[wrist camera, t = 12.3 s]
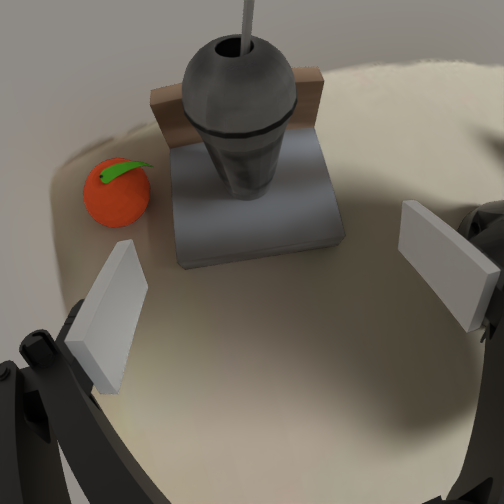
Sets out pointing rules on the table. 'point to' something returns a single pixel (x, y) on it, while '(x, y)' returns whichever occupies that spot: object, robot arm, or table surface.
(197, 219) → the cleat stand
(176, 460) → the table surface
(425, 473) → the table surface
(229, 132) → the beverage cup
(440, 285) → the robot arm
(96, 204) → the clementine
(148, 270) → the table surface
